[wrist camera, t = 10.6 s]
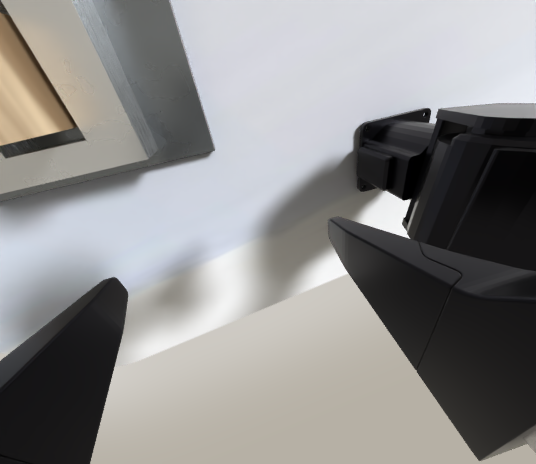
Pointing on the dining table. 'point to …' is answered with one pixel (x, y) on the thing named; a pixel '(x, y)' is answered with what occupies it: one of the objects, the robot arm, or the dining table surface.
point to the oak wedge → (26, 91)
